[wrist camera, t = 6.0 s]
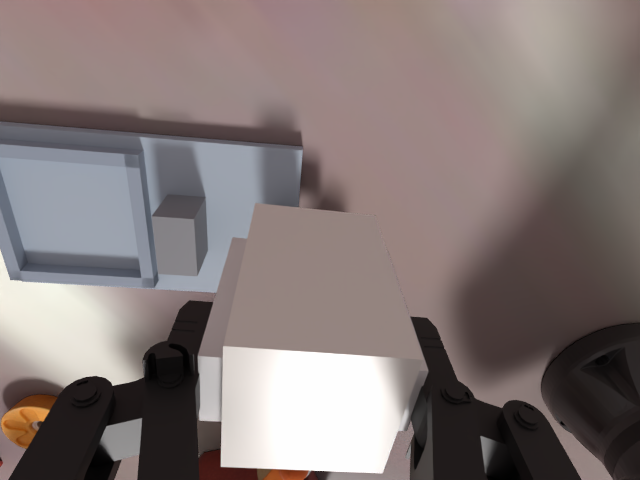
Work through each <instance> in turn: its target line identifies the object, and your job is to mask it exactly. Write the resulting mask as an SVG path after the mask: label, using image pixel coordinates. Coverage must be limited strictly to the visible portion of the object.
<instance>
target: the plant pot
mask: <svg viewBox="0 0 640 480" xmlns="http://www.w3.org/2000/svg"><path fill="white" fill-rule="evenodd" d="M199 478H200V480H258V476H257V468H236V467H221V450H216V451H211V452H206V453H203V454H202V455H201V456H200V457H199ZM304 480H318V479H317V476H316V474H315V472H314V471H312V470H311V472H310V473H309V475H308V476H307V477H306V478H305V479H304Z"/></svg>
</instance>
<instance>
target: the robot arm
mask: <svg viewBox="0 0 640 480" xmlns="http://www.w3.org/2000/svg"><path fill="white" fill-rule="evenodd" d="M246 242H247V239H246V238H235V237H233V238H232V241H231V244H230V248H229V251H228V255H227V258H226V261H225V265H224V268H223V272H222V275H221V278H220V282H219V285H218V289H217V292H216V295H215V299H214V302H203V301H190V300H189V301H188V302H187V303H186V304H185V305H184V306H183V307H182V308H181V309H180V310H179V312H178V315H177V317H176V320H175V323H174V325H173V328H172V331H171V333H170V335H169V338H168V340H167V341H164V342H160V343H158V344H156V345H154V346H152V347H151V348H150V349H149V350H148V351H147V352H146V353H145V355H144V358H143V360H142V361H143V370H144V378H142V379H139V380H137V381H134V382H130V383H125V384H120V385H115V386H112V384H111V382H110V381H108V380H107V379H106V378H102V377H98V376H93V377H85V378H82V379H79V380H76V381H74V382H73V383H71V384H70V385H68V386H67V387H65V389H64V390H63V391H62V392H61V393H60V394H59V396H58V398H57V399H56V401H55V403H54V404H53V406H52V408H51V409H50V411H49V413H48V414H47V416H46V418H45V419H44V421H43V423H42V424H41V426H40V428H39V429H38V431H37V433H36V434H35V436H34V438H33V439H32V441H31V443H30V444H29V446H28V448H27V449H26V451H25V453H24V454H23V456H22V458H21V459H20V461H19V463H18V464H17V466H16V468H15V470H14V471H13V473H12V475H11V476H10V478H9V480H114V478H115V476H116V473H117V470H118V468H119V465H120V463H121V460H122V459H125V458H128V457H132V456H136V455H139V466H138V479H137V480H200V478H199V458H198V437H197V418H198V414H199V421H218V422H222V375H223V344H224V340H225V335H226V331H227V326H228V322H229V317H230V313H231V309H232V304H233V300H234V295H235V291H236V286H237V282H238V277H239V273H240V268H241V264H242V260H243V255H244V251H245V246H246ZM388 255H389V253H388ZM389 258H390V256H389ZM390 261H391V259H390ZM391 264H392V261H391ZM392 267H393V264H392ZM393 270H394V267H393ZM394 273H395V270H394ZM395 276H396V273H395ZM396 279H397V276H396ZM397 282H398V279H397ZM398 285H399V282H398ZM399 288H400V285H399ZM400 291H401V288H400ZM401 294H402V291H401ZM402 297H403V294H402ZM403 300H404V297H403ZM404 303H405V300H404ZM405 306H406V303H405ZM406 309H407V306H406ZM407 312H408V309H407ZM408 315H409V312H408ZM409 318H410V321H411V324H412V327H413V330H414V333H415V336H416V339H417V342H418V345H419V348H420V351H421V354H422V357H423V362H422V365H421V368H420V370H419V373H418V376H417V379H416V381H415V384H414V387H413V390H412V393H411V395H410V398H409V401H408V404H407V407H406V409H405V412H404V415H403V418H402V420H401V423H400V426H399V429H398V431H407V429H408V426H409V424H410V421H412V425H413V429H414V435H413V437H412V440H411V443H410V445H409V448H408V451H407V454H406V457H405V458H407V459H409V457H410V455H411V459H410V480H581V478H580V476H579V475H578V473H577V471H576V469H575V467H574V466H573V464H572V462H571V460H570V459H569V457H568V455H567V453H566V452H565V450H564V448H563V446H562V445H561V443H560V441H559V439H558V438H557V436H556V434H555V432H554V430H553V429H552V427H551V425H550V423H549V422H548V420H547V419H546V417H545V416H544V415H543V414H542V412H540V411H539V410H538V409H537V408H535V407H534V406H532V405H530V404H528V403H526V402H523V401H519V400H512V401H508V402H507V403H506V404H504V406H503V408H500V407H497V406H494V405H491V404H487V403H484V402H482V401H480V400H477V399H475V398H474V395H473V393H472V392H471V391H470V390H469V388H468V387H467V386H465V385H464V384H462V383H461V382H459V381H458V380H457V377H456V375H455V373H454V370H453V368H452V365H451V363H450V360H449V358H448V355H447V353H446V350H445V349H444V346H443V343H442V341H441V338H440V336H439V333H438V331H437V328H436V327H435V326H434V325H433V324H432V323H431V322H430V321H429V319H428V318H421V317H410V315H409ZM541 393H542V398H543V400H544V402H545V404H546V406H547V407H548V409H549V411H550V412H551V414H552V416H553V417H554V419H555V420H556V421H557V422H558V423H559V424H560V425H561V426H562V427H563V428H564V429H565V430H567V431H568V432H570V433H572V434H573V435H574V436H575V438H576V439H577V440H578V441H579V442H580V443H581V444H582V445H583V446H584V447H585V448H586V449H588V450H589V451H590V452H591V453H592V454H593V455H594V456H595V457H596V458H598V459H599V460H600V461H601V462H602V463H603V465H604V466H605V468H606V469H607V471H608V472H609V474H610V475H611V477H612V478H613V480H640V324H626V325H619V326H614V327H610V328H607V329H603V330H600V331H598V332H595V333H593V334H590V335H588V336H586V337H584V338H582V339H581V340H579V341H577V342H576V343H574V344H572V345H571V346H570V347H568V348H567V349H566V350H564V351H563V352H562V353H561V354H560V355H559V356H558V357H557V358H556V359H555V360H554V361H553V363H552V364H551V365H550V367H549V368H548V370H547V371H546V373H545V376H544V378H543V381H542V386H541Z"/></svg>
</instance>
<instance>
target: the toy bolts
mask: <svg viewBox="0 0 640 480" xmlns="http://www.w3.org/2000/svg"><path fill="white" fill-rule="evenodd" d="M57 398H58V397H55V396H51V395H32V396H29V397H26V398H24V399H22V400H21V401H20V402H19V403H17V404H16V405H15V406H14V407H12V408H11V409H10V410H9V411H8V412H6V413H5V414H4V416H3V417H2V420H1V428H2V430H3V432H4V434H5V435H6V436H7V437H8V438H9V439H10V440H11V441H12V442H14V443H15V444H17V445H18V446H20V447H22V448H25V449H27V448H28V446H29V444H30V443H31V441H32V439H33V438H34V436H35V434H36V433H37V431H38V429H39V428H40V426H41V424H42V423H43V421H44V419H45V418H46V416H47V414H48V413H49V411H50V409H51V408H52V406H53V404H54V403H55V401H56V399H57ZM2 464H3V462H2V461H1V460H0V467H1V465H2Z"/></svg>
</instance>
